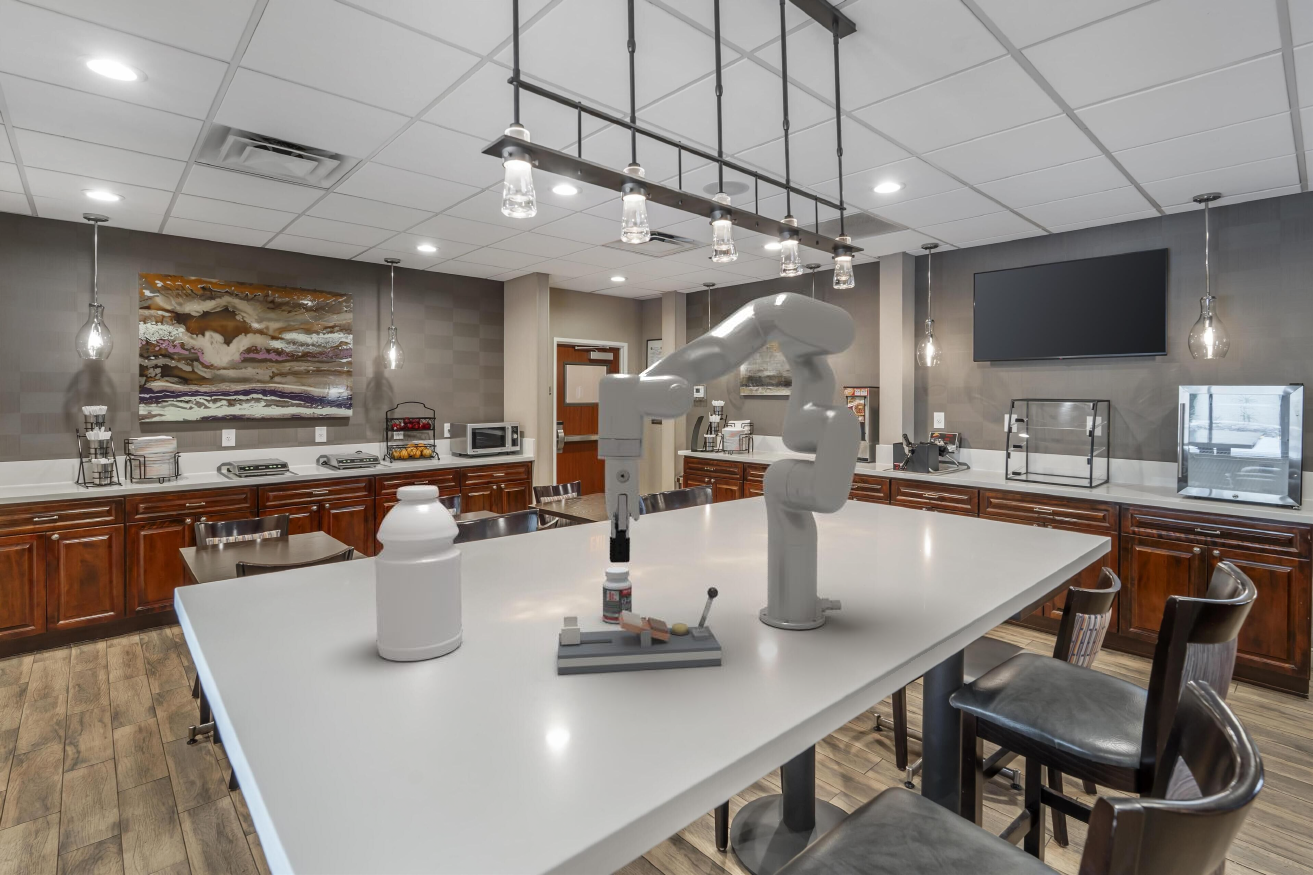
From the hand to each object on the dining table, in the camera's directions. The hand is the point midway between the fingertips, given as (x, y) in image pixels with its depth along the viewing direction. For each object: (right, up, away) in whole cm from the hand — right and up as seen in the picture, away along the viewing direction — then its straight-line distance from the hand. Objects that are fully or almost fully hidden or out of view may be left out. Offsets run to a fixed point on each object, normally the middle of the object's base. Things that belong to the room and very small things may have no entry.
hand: (619, 561), depth 103 cm
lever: (+13, -12, +2) cm, 18 cm away
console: (+3, -16, +1) cm, 17 cm away
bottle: (-35, -16, +6) cm, 39 cm away
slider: (-8, -13, 0) cm, 16 cm away
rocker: (+4, -11, +1) cm, 12 cm away
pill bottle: (-2, -16, +21) cm, 26 cm away
